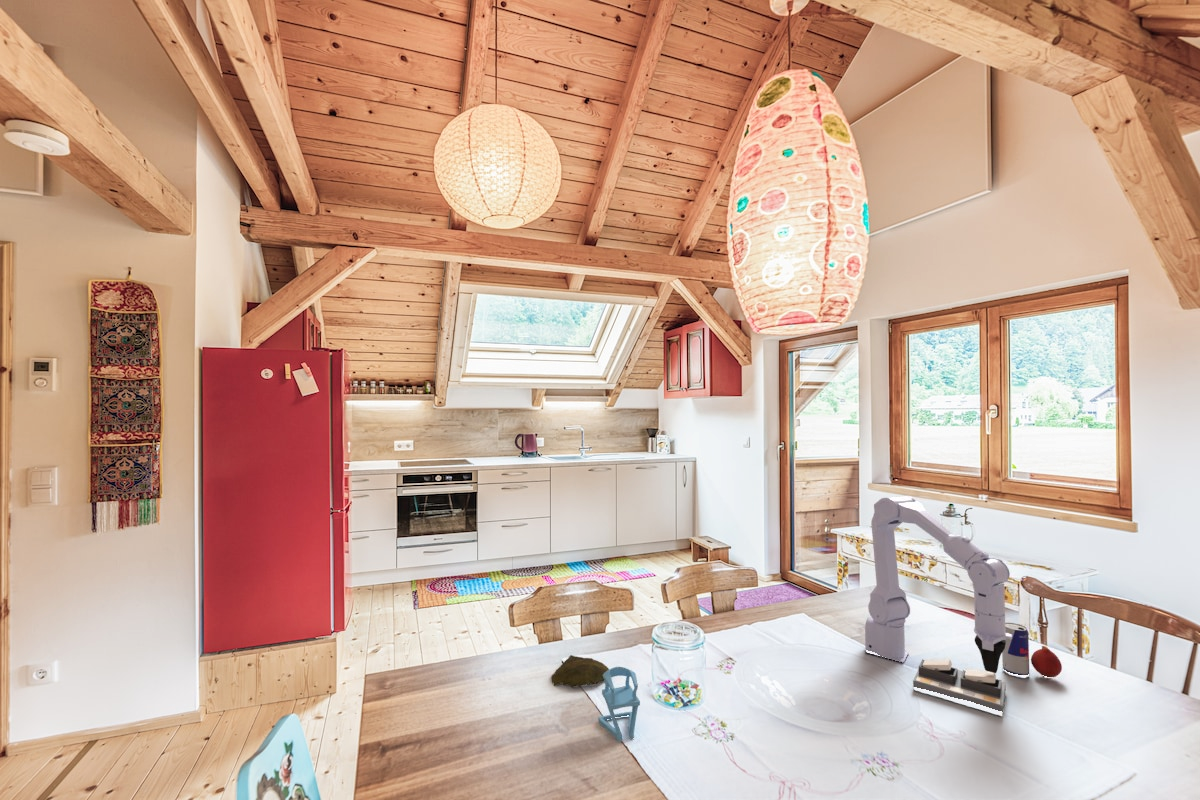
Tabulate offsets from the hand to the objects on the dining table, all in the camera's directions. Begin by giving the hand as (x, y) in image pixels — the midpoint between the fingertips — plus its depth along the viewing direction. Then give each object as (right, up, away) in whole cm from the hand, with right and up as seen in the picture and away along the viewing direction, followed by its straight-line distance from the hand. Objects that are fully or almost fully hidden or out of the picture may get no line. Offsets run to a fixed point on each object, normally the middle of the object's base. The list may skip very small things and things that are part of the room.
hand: (990, 670), depth 120 cm
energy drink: (+16, -8, +13) cm, 22 cm away
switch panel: (-5, -7, +4) cm, 9 cm away
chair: (-87, -7, -11) cm, 87 cm away
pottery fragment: (-96, -8, +12) cm, 97 cm away
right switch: (-1, -3, +1) cm, 3 cm away
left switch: (-8, -3, +7) cm, 11 cm away
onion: (+22, -7, +10) cm, 25 cm away
